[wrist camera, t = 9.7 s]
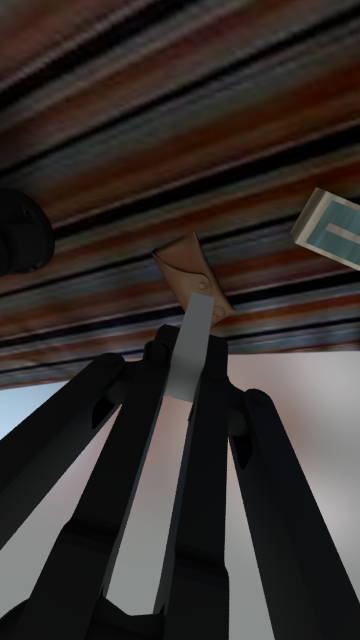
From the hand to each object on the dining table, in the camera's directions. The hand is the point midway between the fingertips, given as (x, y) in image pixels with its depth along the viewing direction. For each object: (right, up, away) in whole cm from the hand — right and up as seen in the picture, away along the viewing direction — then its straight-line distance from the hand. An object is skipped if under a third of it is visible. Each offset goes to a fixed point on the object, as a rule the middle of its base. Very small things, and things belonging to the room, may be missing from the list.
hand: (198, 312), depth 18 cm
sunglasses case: (+2, +7, +33) cm, 33 cm away
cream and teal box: (+17, +14, +21) cm, 30 cm away
